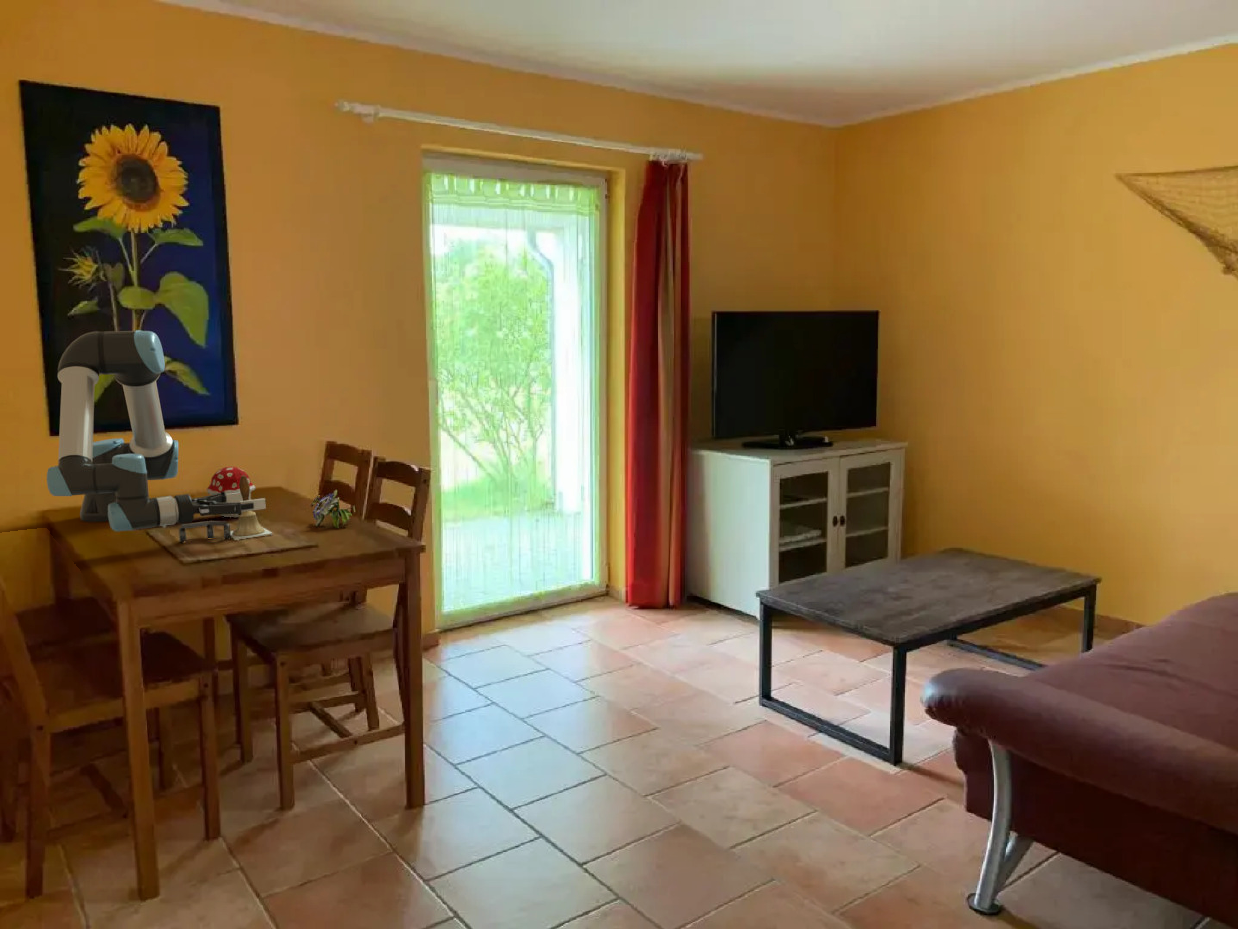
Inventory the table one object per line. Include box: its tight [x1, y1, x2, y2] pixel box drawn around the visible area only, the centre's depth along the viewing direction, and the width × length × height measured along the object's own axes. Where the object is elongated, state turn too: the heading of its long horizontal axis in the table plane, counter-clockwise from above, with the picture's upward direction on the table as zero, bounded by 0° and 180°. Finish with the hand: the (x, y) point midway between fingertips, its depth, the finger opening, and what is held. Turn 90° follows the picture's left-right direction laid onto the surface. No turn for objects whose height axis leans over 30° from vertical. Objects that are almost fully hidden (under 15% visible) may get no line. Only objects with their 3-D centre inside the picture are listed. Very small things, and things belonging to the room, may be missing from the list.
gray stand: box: [178, 520, 232, 543], centre depth 258 cm, size 5×12×5 cm, turn 126°
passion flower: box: [310, 489, 356, 529], centre depth 275 cm, size 11×11×12 cm
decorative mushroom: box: [206, 466, 256, 519], centre depth 288 cm, size 14×14×15 cm
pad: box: [230, 526, 274, 541], centre depth 264 cm, size 10×10×1 cm
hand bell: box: [232, 475, 265, 536], centre depth 263 cm, size 8×8×16 cm
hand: (257, 499), depth 265 cm, fingers open, 13 cm apart
